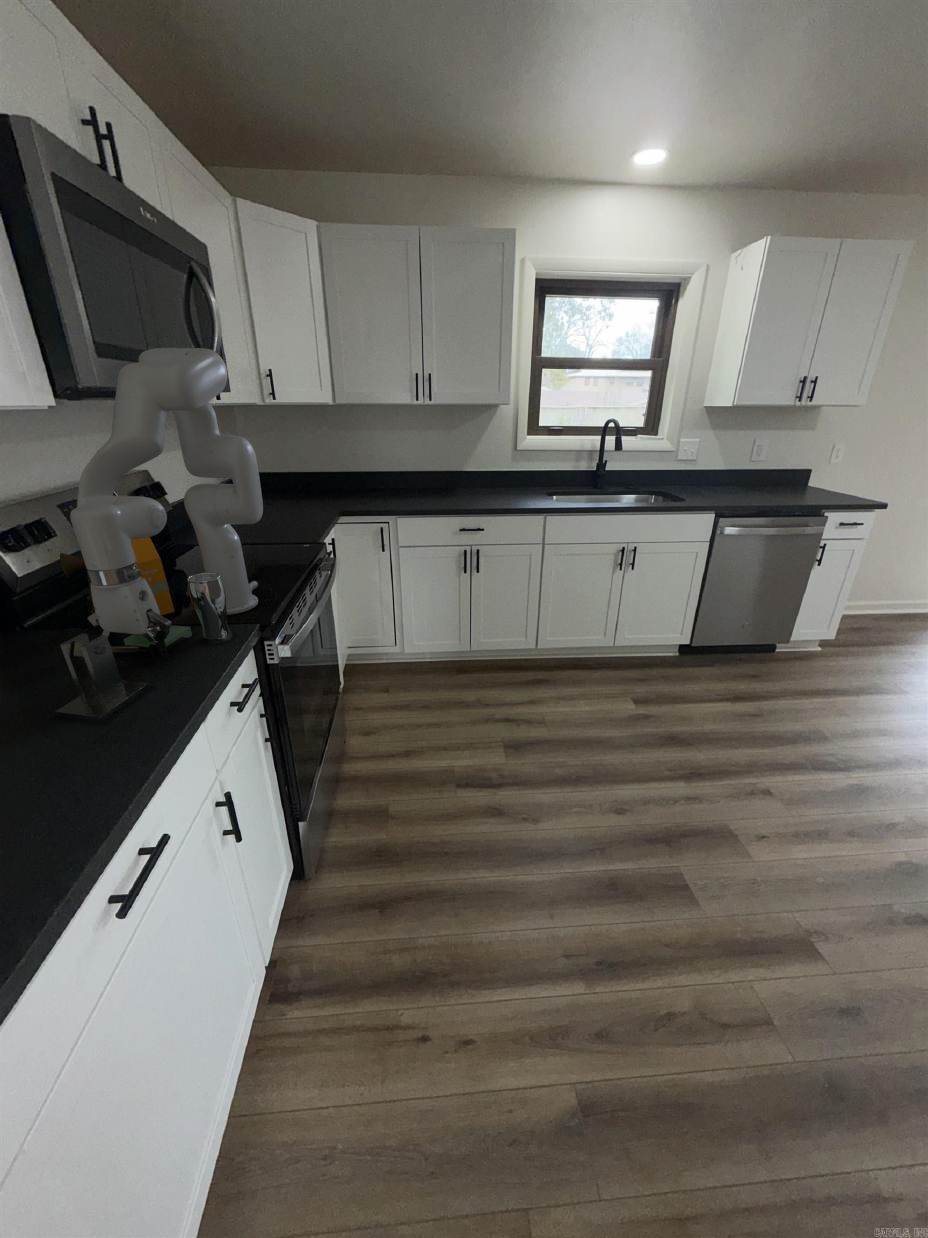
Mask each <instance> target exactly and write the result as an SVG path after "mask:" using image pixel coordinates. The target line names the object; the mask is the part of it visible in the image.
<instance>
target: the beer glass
mask: <svg viewBox="0 0 928 1238" xmlns="http://www.w3.org/2000/svg"><path fill="white" fill-rule="evenodd" d="M186 579H187V580H186V581H187V587H188V593H189V597H190V601H191V605H192V607H193V610H194V611H195V614H196V616H197V618H198V620H199V623H200V625H201V630H202V640H208V641H209V640H210V641H220V642H228V641H230V640H232V638H233V633H232V630H231V628H230V626H229V622H228V615H227V602H226V594H225V589H224V586H223V582H222V579H221V575H220V574H219V573H216V572H205V571H204V572H199V573H195V574H193V575H190V576H189V577H187V578H186Z"/></svg>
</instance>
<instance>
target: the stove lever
mask: <svg viewBox="0 0 928 1238" xmlns="http://www.w3.org/2000/svg"><path fill="white" fill-rule="evenodd" d="M86 643H88V642H75V647H74V655H73V656H82V657H84V655H83V653H82V650H81V646H82V645H84V644H86ZM111 650H112V652H126V653H130V654H141V655H151V651H150V648H149V647H145V646H134V645H126V646H125V647H111Z"/></svg>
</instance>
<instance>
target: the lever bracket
mask: <svg viewBox="0 0 928 1238" xmlns="http://www.w3.org/2000/svg"><path fill="white" fill-rule="evenodd" d="M75 642H88V643H86V644H84V645H82V646H81V650H82V653H83V655H84V657H82V656H73V655H74V647H75ZM59 647H60V648H61V651H62V654H63V657H64V659H65V662H66V665H67V667H68V670H69V672H70V675H71V678H72V681H73V683H74V685H75V688H76V691H77V693H78V697H76V698H74V699H73V700H71V701H70V702H68V703H66V704H65V705H63V706H62V707H60V708H58V709H57V710H55V713H62V714H70V715H78V716H85V717H86V716H87V717H95V718H101V717H103V716H105V715H106V714H107V713H109V712H110V711H112V710H113V709H115V708H116V707H117V706H118V705H119V706H120V704H122V703H123V702H124V701H126V700H127V699H129V698H130V697H132V696H134V694H136V693H137V692H139V691H140V690H142V689H143V688H144V687H146V686H148V685H149V682H141V681H133V680H132V681H131V680H123V679H122V677H121V674H120V671H119V668H118V664H117V662H116V659H114V656H113V653H112V650H111V647H110V644H109V641H108V638H107V636H105V635H100V636H98V637H96V638H94V639H92V640H90V638H89V635H88V633H81V634H79V635H76V636H75V637H72V638H70V639H69V640H66V641H63V642H62V643H60V644H59Z"/></svg>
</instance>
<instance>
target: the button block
mask: <svg viewBox="0 0 928 1238" xmlns="http://www.w3.org/2000/svg"><path fill="white" fill-rule="evenodd" d="M169 631H170V632H169V634H168V635H167V637H166V639H164V641H165V645H166V647H168V646H169V645H171V644H172V643H174V642H176V641H178V640H179V639H180V638H186V639H189V638H190V637H192V636H193V632H192V629H191V626H185V625H173V624H171V627H170V630H169ZM150 633H151V634H152V635H153V636H154V637H155V635H156V634H155V633H154V632H150ZM123 640H124V643H125V646H126V645H134V646H145V647H149V645H150V644H152V643H151V642H150V641H149V640H148V639H147V638H146V637H145V636H144V635H143V634H130V635H129V636H128V637H125V638H123Z"/></svg>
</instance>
